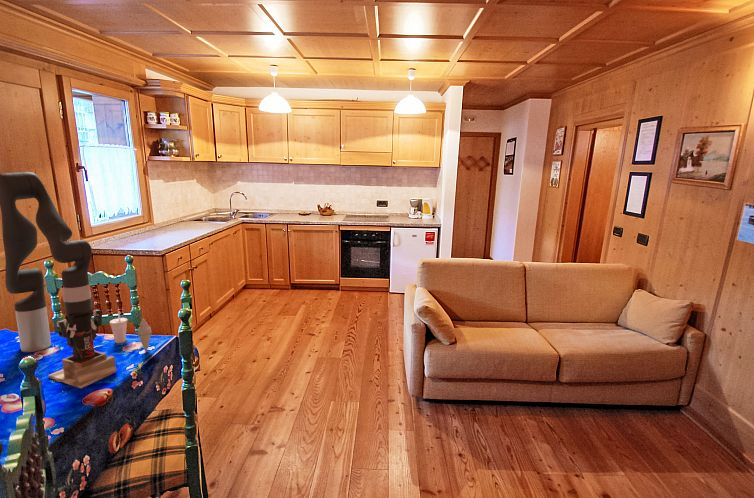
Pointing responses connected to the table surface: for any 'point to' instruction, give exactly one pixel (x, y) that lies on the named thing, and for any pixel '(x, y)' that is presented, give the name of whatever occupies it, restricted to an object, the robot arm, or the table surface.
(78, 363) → the socket block
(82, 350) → the deodorant
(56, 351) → the table surface
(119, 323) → the smoothie
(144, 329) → the ice cream cone
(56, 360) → the table surface
